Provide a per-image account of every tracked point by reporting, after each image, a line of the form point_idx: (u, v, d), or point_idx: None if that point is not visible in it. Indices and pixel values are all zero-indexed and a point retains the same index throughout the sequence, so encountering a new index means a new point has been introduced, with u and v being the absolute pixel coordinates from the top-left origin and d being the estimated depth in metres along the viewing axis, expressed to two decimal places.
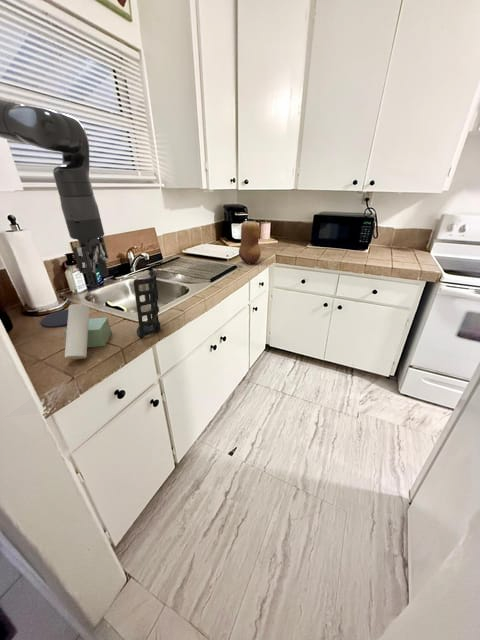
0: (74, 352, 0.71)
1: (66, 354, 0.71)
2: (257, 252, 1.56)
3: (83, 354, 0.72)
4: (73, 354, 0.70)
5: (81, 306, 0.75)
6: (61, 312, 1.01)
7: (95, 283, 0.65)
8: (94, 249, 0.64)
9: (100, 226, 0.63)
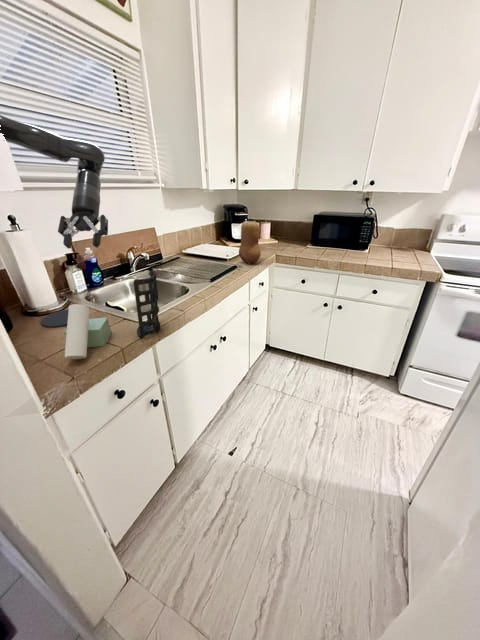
0: (74, 352, 0.71)
1: (66, 354, 0.71)
2: (257, 252, 1.56)
3: (83, 354, 0.72)
4: (73, 354, 0.70)
5: (81, 306, 0.75)
6: (61, 312, 1.01)
7: None
8: None
9: None
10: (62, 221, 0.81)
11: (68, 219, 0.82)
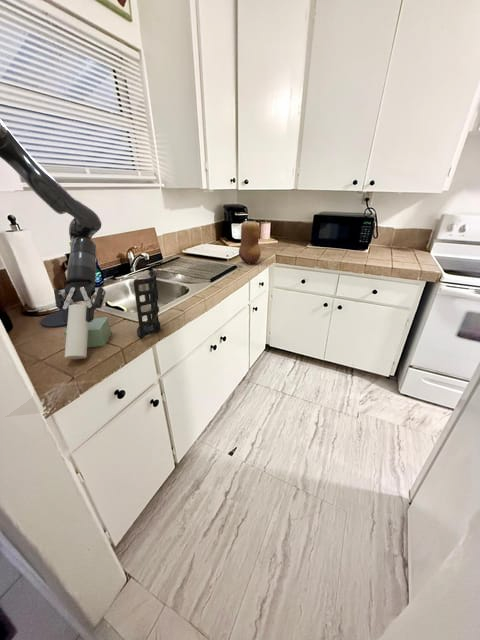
0: (74, 352, 0.71)
1: (66, 354, 0.71)
2: (257, 252, 1.56)
3: (83, 354, 0.72)
4: (73, 354, 0.70)
5: (81, 306, 0.75)
6: (61, 312, 1.01)
7: None
8: None
9: None
10: (57, 295, 0.76)
11: (62, 291, 0.77)
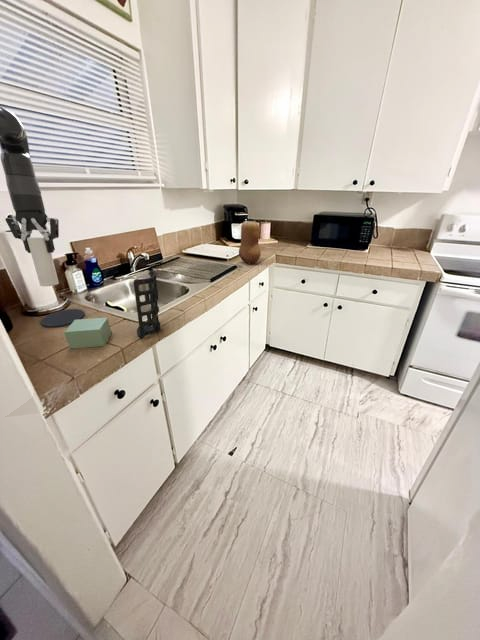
0: (47, 283, 0.84)
1: (41, 284, 0.84)
2: (257, 252, 1.56)
3: (55, 283, 0.86)
4: (47, 285, 0.84)
5: (39, 240, 0.80)
6: (61, 312, 1.01)
7: None
8: None
9: None
10: (11, 224, 0.78)
11: (14, 219, 0.78)
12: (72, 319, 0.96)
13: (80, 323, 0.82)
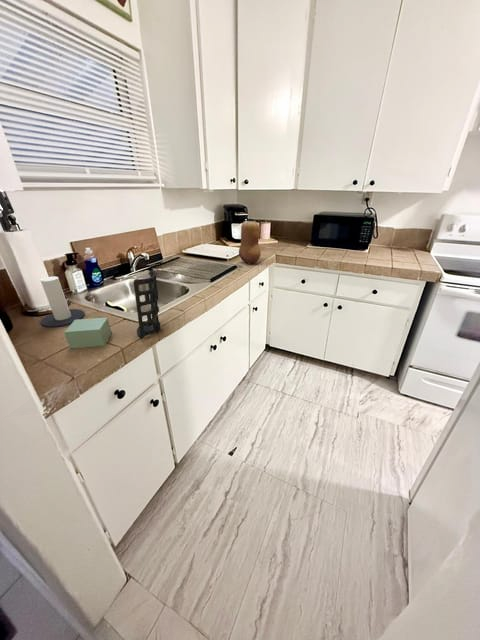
0: (62, 317, 0.95)
1: (56, 318, 0.95)
2: (257, 252, 1.56)
3: (68, 316, 0.97)
4: (61, 319, 0.95)
5: (51, 282, 0.89)
6: None
7: None
8: None
9: None
10: None
11: None
12: (72, 319, 0.96)
13: (80, 323, 0.82)
